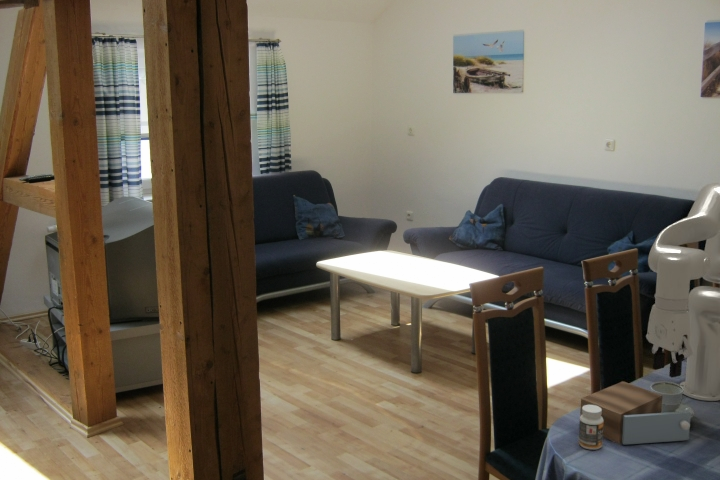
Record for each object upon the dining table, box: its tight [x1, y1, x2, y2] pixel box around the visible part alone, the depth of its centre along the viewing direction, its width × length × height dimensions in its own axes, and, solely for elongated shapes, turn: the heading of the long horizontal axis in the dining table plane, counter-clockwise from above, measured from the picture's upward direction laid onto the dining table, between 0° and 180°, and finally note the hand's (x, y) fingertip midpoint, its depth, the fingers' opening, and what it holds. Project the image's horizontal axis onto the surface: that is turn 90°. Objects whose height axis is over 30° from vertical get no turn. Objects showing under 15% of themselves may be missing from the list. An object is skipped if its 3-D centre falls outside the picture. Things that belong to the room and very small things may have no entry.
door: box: [621, 410, 692, 445], centre depth 184 cm, size 17×2×7 cm, turn 95°
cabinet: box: [579, 380, 663, 445], centre depth 195 cm, size 18×12×8 cm, turn 125°
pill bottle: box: [578, 405, 604, 451], centre depth 185 cm, size 6×6×10 cm
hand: (666, 371), depth 186 cm, fingers open, 4 cm apart
